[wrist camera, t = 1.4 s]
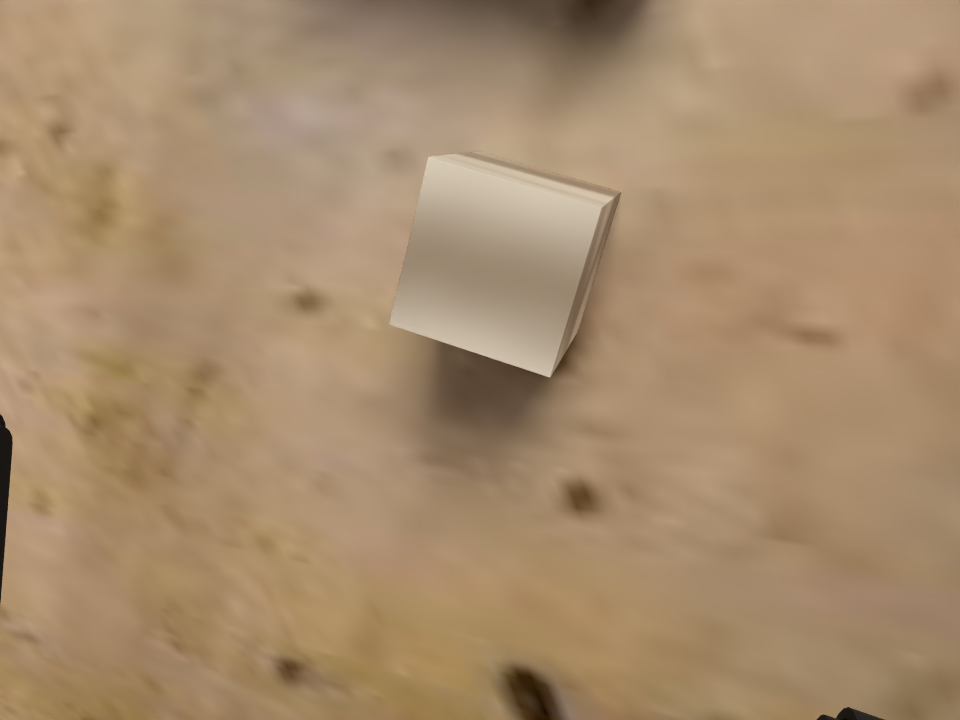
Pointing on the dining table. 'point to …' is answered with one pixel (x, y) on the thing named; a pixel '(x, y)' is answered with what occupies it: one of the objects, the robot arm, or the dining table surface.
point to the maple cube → (502, 258)
